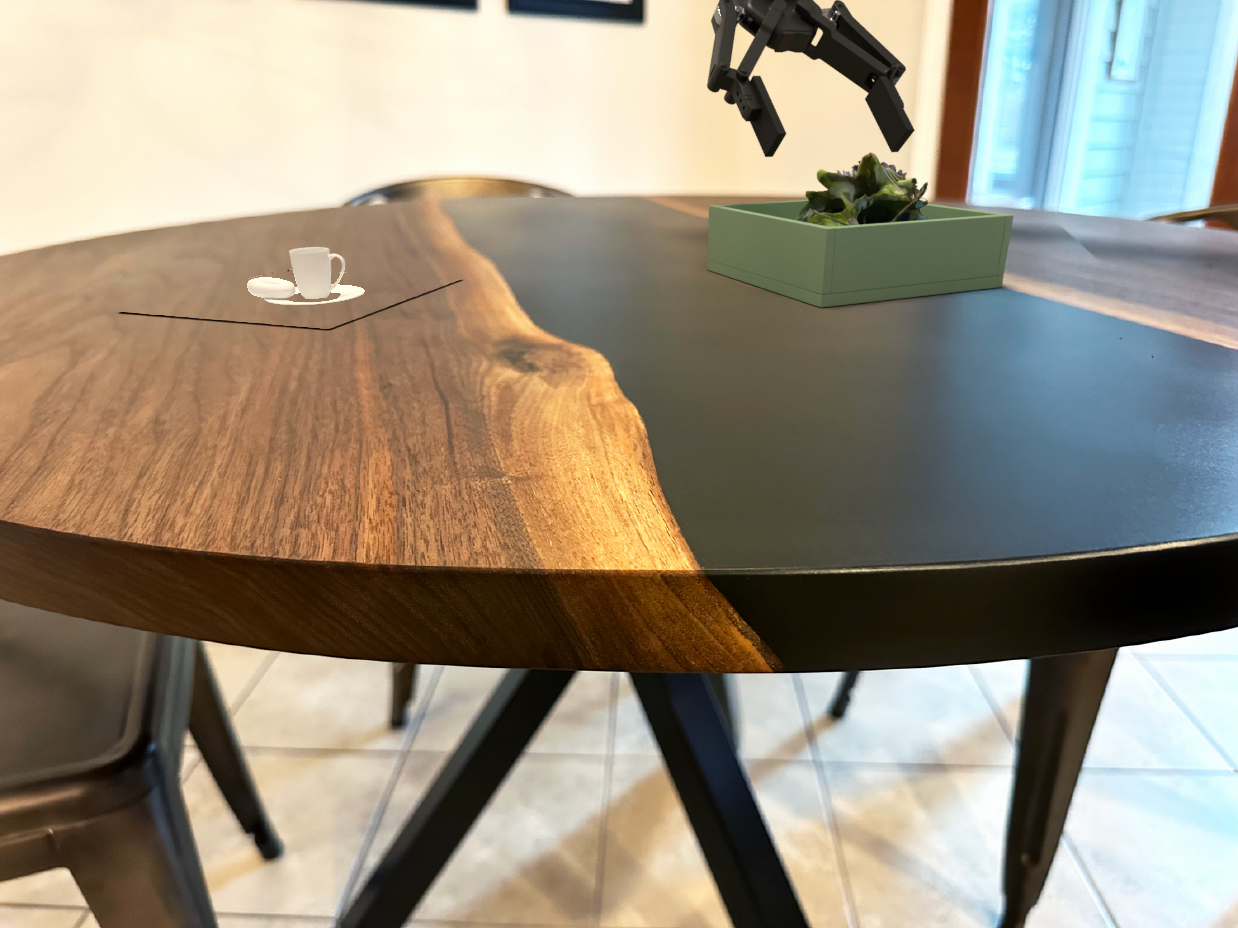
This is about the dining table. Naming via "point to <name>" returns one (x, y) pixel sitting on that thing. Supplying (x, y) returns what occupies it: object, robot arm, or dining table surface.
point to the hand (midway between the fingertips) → (841, 144)
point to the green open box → (857, 253)
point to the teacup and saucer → (305, 280)
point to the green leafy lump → (864, 196)
